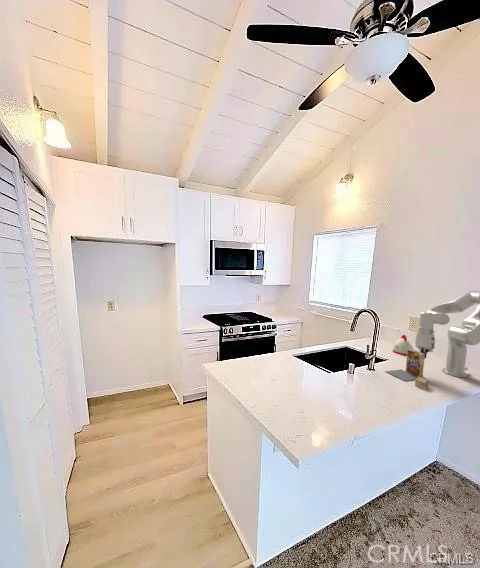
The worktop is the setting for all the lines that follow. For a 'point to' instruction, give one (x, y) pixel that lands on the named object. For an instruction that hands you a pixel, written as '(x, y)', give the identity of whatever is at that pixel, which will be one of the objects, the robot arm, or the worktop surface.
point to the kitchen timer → (402, 346)
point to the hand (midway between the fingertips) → (423, 357)
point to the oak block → (421, 382)
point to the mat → (402, 375)
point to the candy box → (415, 362)
